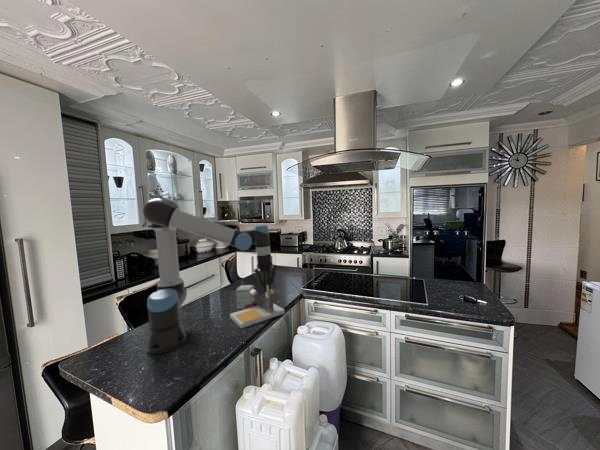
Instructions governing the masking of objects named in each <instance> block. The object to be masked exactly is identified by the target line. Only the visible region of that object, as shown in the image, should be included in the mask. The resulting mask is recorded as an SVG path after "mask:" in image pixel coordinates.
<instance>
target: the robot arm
mask: <svg viewBox="0 0 600 450" xmlns="http://www.w3.org/2000/svg"><path fill="white" fill-rule="evenodd" d="M142 213H143V216H144V218H145V220H147V222H149V223H150V226H151V227H150V228H151V230H153V231H154V232H155V238H156V239H155V240H156V250H157V261H158V272H159V282H158V283H156V291H154V292H152V293H151V294H150V295H148V297H147V300H146V301H147V303H146V308H147V313H148V314H147V315H148V323H149V331H150V332H149V335H148V339H147V344H146V348H147V349H146V350H147V351H146V352H147V353H149V354H152V355H164V354H168V353H170V352H173V351H175V350H177V349H179V348H181V347H182V346H183V345H184V344H185V343H186V341H187V335H186V332H185V330H184V328H183V326H182V325H181V319H180V309H181V307H182V305H183V304H184V303H185V300H186V298H187V294H188V293H187V289H186V287H185V284H184V283H185V282H184V279H183V278H181V277H180V263H179V255H178V254H179V252H178V241H177V240H178V239H177V230H183V231H185V232H188V233H191V234H194V235H197V236H201V237H204V238H206V239H210V240H214V241H216V242H219V243H223V244H225V245H228V246H231V247H234V248H236V249H237V250H239V251H246V250H249V249H251V246H252V245H255V253H256V262H257V263H256V268H253V272H254V273H255V276H256V279H257V281H258V282H257V283H258V284H259V285H260V286H261V287H262V288H263V292H265V295H264V296H265V298H270V295H269V291H270V289H271V286H272V284H273V283H274V280H275V279H274V278H275V270H276V268H277V265H276V264H273V262H272V254H271V242H270V241H271V239H270V231H269V226H268V225H266V224H262V225H261V224H260V225H255V226H254V227H253V229H251V230H237V229H233V228H232V227H228V226H225V225H223V224H219V223H217V222H213V221H210V220H208V219H205V218H202V217H199V216H196V215H193V214H190V213H188V212H184V211H181V209H180V208H179V206H178V204H177V203H175V202H174V201H172V200H170V199H165V198H152V199H150V200H148V201H147V202H146V203H145V204H144V206H143V208H142Z"/></svg>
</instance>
